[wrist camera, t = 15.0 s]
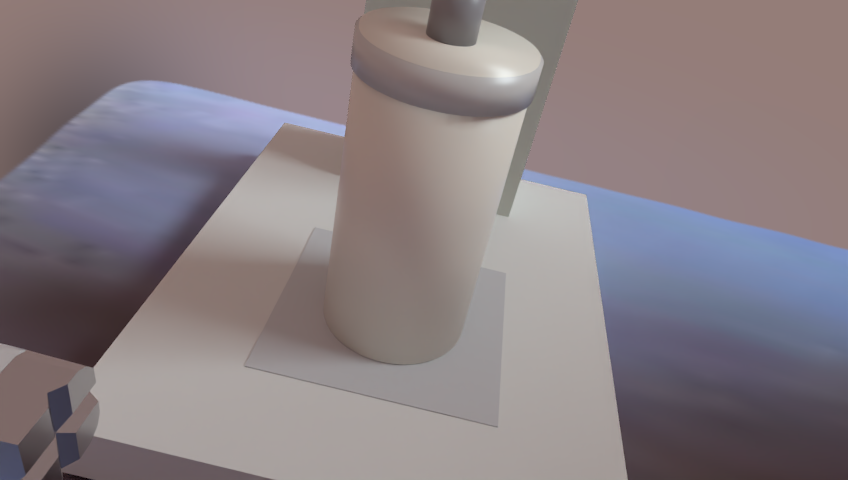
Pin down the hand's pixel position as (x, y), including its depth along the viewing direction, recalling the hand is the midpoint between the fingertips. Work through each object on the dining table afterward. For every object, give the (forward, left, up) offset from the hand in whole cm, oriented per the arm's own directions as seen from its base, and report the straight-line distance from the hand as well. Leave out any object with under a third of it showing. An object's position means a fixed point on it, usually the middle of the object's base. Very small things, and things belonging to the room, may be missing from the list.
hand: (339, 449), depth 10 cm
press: (-9, -6, -9) cm, 14 cm away
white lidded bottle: (-9, -6, -6) cm, 13 cm away
